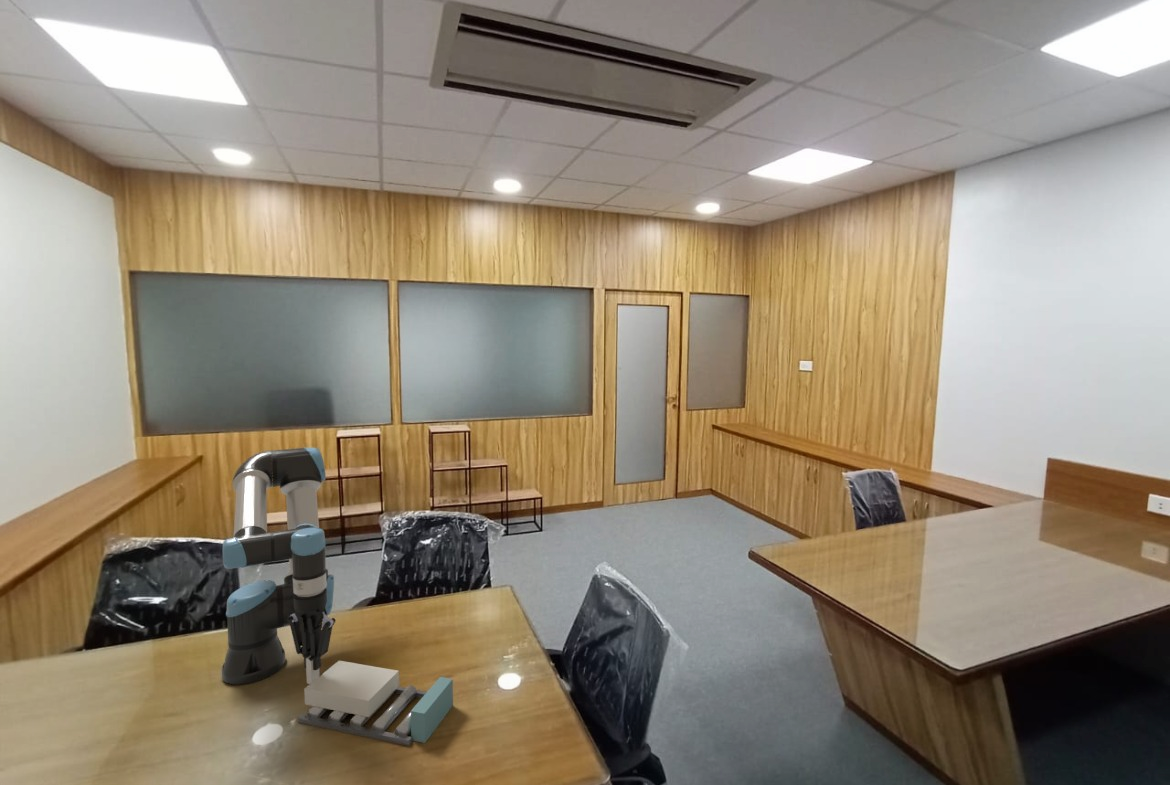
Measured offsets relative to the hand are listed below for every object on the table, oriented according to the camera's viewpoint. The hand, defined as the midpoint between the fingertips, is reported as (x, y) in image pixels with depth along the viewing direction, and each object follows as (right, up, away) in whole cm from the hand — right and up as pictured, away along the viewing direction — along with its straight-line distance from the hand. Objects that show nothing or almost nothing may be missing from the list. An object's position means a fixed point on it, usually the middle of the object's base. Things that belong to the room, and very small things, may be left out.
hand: (313, 680), depth 132 cm
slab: (+11, -2, -3) cm, 12 cm away
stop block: (+33, -6, -8) cm, 34 cm away
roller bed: (+17, -5, -4) cm, 18 cm away
